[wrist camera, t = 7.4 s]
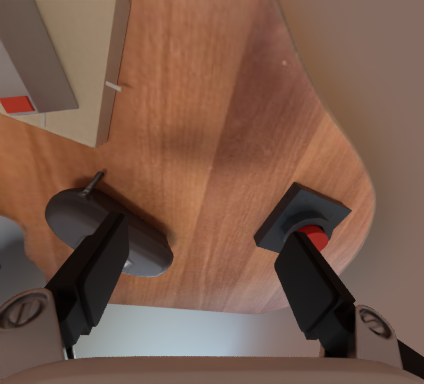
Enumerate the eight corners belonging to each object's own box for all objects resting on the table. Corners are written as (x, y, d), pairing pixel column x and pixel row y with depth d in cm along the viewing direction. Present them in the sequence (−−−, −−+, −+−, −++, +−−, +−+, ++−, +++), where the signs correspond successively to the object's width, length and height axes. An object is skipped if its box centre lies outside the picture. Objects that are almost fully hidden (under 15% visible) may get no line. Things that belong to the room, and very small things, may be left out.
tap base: (-24, -89, 13) (-82, -136, 11) (148, 12, 17) (137, -4, 14) (-4, 99, 19) (-38, 100, 17) (120, 147, 23) (109, 154, 20)
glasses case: (48, 213, 26) (7, 238, 18) (97, 159, 26) (75, 163, 19) (149, 268, 32) (148, 302, 25) (187, 225, 33) (196, 247, 26)
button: (304, 220, 26) (311, 228, 24) (327, 229, 27) (334, 237, 25) (286, 241, 27) (291, 250, 26) (308, 248, 29) (314, 257, 27)
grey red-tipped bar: (-5, -21, 13) (-115, -82, 9) (24, -24, 13) (-70, -86, 9) (57, 110, 18) (6, 116, 13) (79, 108, 18) (36, 113, 13)
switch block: (294, 181, 26) (308, 195, 23) (342, 203, 29) (361, 218, 25) (253, 237, 32) (259, 254, 28) (297, 251, 34) (308, 269, 30)
